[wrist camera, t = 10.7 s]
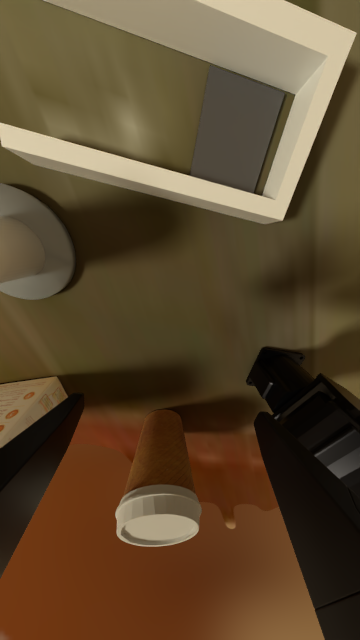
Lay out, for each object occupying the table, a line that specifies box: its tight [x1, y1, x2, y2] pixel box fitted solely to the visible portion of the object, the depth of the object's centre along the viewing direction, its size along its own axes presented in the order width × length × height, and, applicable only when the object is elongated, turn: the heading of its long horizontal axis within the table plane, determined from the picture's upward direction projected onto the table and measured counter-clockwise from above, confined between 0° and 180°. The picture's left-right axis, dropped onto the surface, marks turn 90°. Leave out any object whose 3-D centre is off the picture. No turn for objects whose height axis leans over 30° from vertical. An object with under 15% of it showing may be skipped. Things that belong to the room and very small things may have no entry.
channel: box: [0, 0, 356, 224], centre depth 12 cm, size 21×10×3 cm, turn 78°
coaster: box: [0, 183, 76, 299], centre depth 16 cm, size 10×10×1 cm
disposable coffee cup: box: [115, 409, 201, 546], centre depth 23 cm, size 10×10×12 cm
